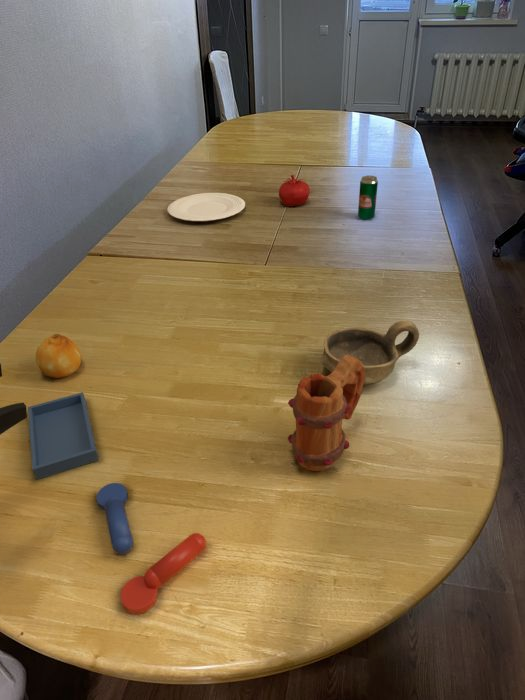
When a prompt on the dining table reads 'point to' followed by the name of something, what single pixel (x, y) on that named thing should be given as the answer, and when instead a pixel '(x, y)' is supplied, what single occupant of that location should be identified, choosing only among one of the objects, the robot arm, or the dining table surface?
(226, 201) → the plate
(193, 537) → the red spoon
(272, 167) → the dining table surface
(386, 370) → the bowl
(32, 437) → the tray
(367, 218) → the soda can
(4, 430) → the robot arm
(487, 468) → the dining table surface
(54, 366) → the fruit
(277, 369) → the dining table surface
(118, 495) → the blue spoon
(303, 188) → the pomegranate
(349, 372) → the mug
